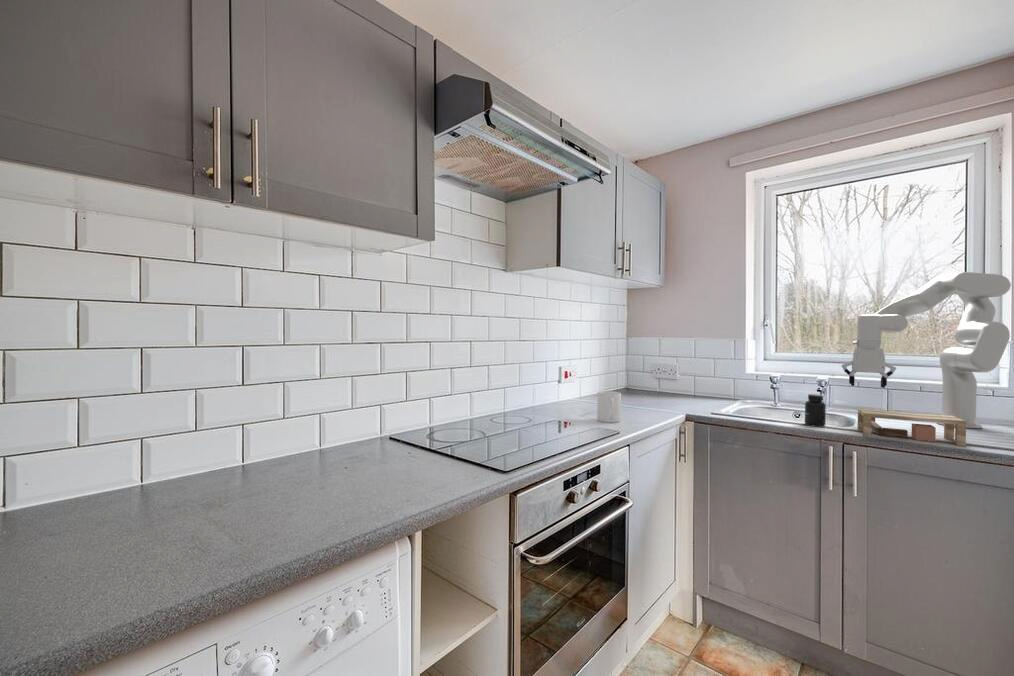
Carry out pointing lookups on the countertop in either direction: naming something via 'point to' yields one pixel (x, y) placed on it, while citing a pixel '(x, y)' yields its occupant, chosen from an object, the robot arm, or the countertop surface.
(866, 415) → the low bench
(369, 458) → the countertop surface
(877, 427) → the crook
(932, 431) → the cube
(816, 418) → the supplement bottle
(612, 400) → the mug
